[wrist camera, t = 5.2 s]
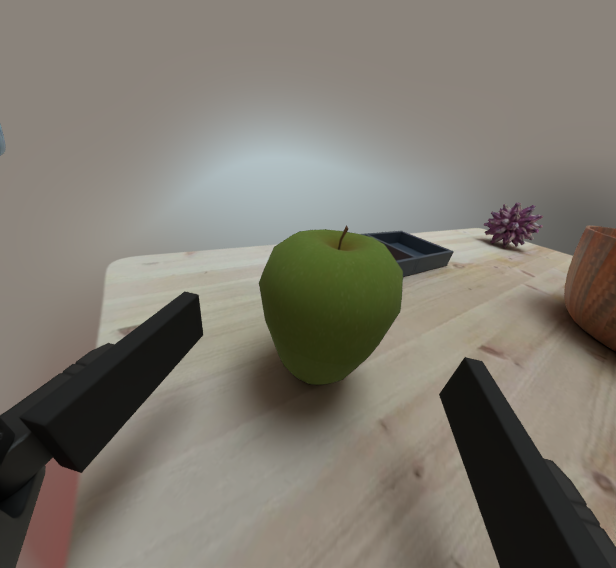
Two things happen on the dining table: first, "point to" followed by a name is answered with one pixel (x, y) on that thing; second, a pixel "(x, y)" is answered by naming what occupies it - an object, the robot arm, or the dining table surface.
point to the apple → (329, 301)
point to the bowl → (594, 284)
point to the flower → (513, 225)
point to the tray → (413, 251)
